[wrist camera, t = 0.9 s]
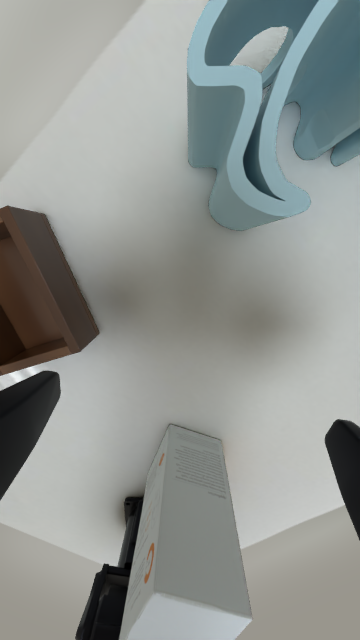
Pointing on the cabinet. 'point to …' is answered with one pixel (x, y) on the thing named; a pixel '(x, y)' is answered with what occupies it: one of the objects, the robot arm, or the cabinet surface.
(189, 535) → the small box
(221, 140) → the squiggly pen holder
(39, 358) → the brown wooden tray
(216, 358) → the cabinet surface
